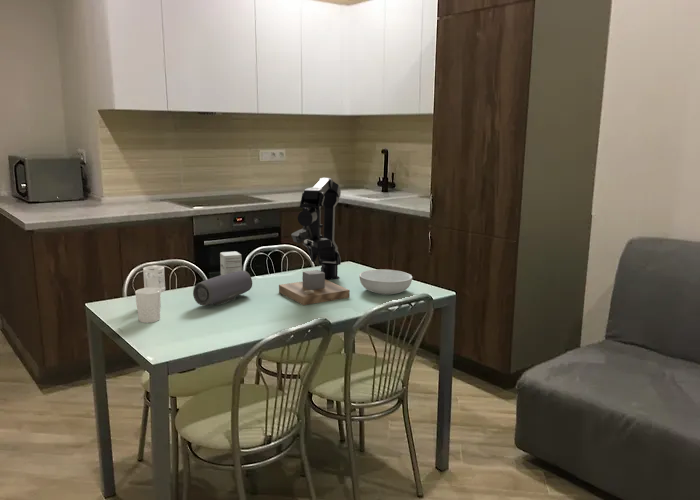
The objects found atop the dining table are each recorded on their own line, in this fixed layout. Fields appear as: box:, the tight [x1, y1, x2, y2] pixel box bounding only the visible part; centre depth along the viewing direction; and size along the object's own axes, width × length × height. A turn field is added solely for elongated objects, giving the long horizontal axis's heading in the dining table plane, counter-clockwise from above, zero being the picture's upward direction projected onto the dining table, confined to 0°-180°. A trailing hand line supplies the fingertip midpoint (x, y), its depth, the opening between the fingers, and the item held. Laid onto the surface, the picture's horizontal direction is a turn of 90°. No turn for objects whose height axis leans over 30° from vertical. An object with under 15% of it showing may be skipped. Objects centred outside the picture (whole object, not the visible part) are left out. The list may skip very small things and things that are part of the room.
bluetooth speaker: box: [192, 270, 253, 307], centre depth 217 cm, size 23×9×10 cm, turn 149°
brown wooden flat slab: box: [278, 279, 351, 306], centre depth 228 cm, size 20×20×4 cm
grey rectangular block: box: [302, 269, 326, 290], centre depth 227 cm, size 6×6×8 cm
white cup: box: [134, 287, 162, 324], centre depth 195 cm, size 8×8×10 cm
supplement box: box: [219, 250, 243, 275], centre depth 242 cm, size 7×7×13 cm
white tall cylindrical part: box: [142, 264, 166, 293], centre depth 210 cm, size 7×7×15 cm
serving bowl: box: [359, 268, 413, 296], centre depth 233 cm, size 21×21×7 cm
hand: (313, 261), depth 228 cm, fingers closed
